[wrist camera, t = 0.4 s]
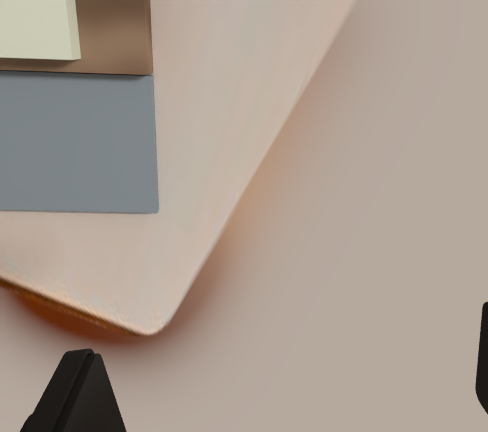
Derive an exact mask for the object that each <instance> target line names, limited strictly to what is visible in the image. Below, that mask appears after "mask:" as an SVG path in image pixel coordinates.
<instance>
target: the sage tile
mask: <svg viewBox="0 0 488 432" xmlns="http://www.w3.org/2000/svg"><path fill="white" fill-rule="evenodd" d="M0 57H4V58H31V59H59V60H76V59H81V53H80V43H79V33H78V23H77V14H76V4H75V0H0Z"/></svg>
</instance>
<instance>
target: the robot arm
mask: <svg viewBox="0 0 488 432" xmlns="http://www.w3.org/2000/svg"><path fill="white" fill-rule="evenodd" d="M476 394H477V397H478V400H479V402H480V403H481V405H482V406H483V408H484V409H485V411H486V412H487V414H488V302H485V303H484V305H483V308H482V320H481V331H480V342H479V353H478V365H477V376H476ZM20 432H126V429H125V426H124V423H123V420H122V417H121V414H120V411H119V408H118V405H117V402H116V399H115V396H114V393H113V390H112V387H111V384H110V381H109V378H108V375H107V371H106V368H105V366H104V362H103V359H102V357H101V355H100V354H94V352H93V350H92V349H82V350H74V351H68V352H66V353H65V354H64V355H63V357H62V359H61V361H60V363H59V365H58V367H57V369H56V371H55V372H54V374H53V376H52V378H51V380H50V382H49V384H48V386H47V388H46V389H45V391H44V393H43V395H42V397H41V399H40V401H39V403H38V404H37V406H36V408H35V411H34V412H33V414H31V415H30V416H29V417H28V419H27V420H26V421H25V423H24V425H23V427H22V429H21V431H20Z"/></svg>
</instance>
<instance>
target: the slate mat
mask: <svg viewBox="0 0 488 432" xmlns="http://www.w3.org/2000/svg"><path fill="white" fill-rule="evenodd" d="M0 210H24V211H69V212H115V213H158V210H159V202H158V178H157V154H156V130H155V106H154V82H153V75H133V74H105V73H77V72H48V71H20V70H0Z"/></svg>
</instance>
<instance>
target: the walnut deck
mask: <svg viewBox="0 0 488 432" xmlns="http://www.w3.org/2000/svg"><path fill="white" fill-rule="evenodd" d="M75 4H76V14H77V23H78V33H79V43H80V53H81V59H76V60H59V59H31V58H4V57H0V70H22V71H50V72H79V73H107V74H135V75H149V74H151V73H153V58H152V34H151V10H150V0H75Z"/></svg>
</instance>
